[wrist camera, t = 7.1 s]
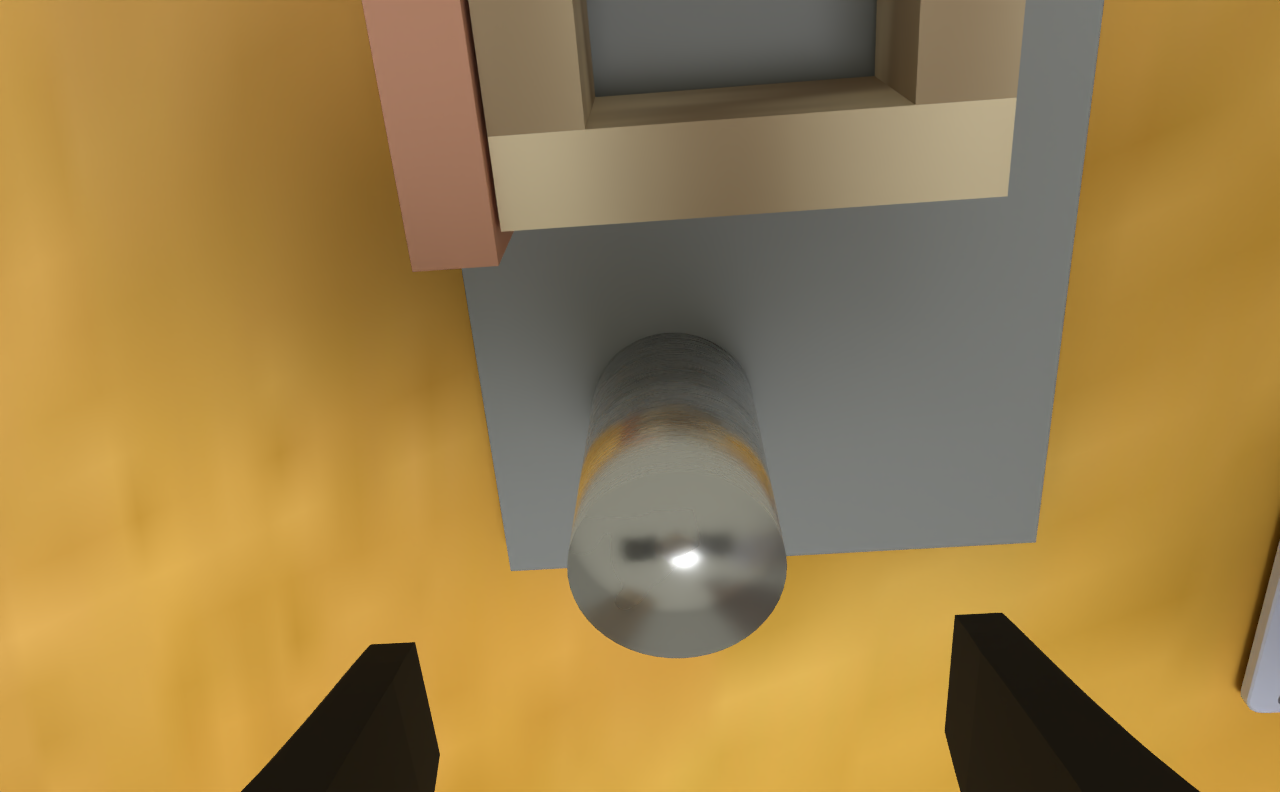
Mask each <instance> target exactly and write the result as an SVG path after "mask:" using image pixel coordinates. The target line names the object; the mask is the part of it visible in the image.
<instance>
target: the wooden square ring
mask: <svg viewBox="0 0 1280 792" xmlns="http://www.w3.org/2000/svg"><path fill="white" fill-rule="evenodd" d="M468 2H469V9H470V16H471V23H472V30H473V37H474V44H475V51H476V59H477V66H478V73H479V80H480V87H481V94H482V101H483V108H484V115H485V122H486V129H487V136H488V143H489V150H490V157H491V164H492V171H493V178H494V185H495V192H496V200H497V207H498V214H499V221H500V228H501V232H505V231H519V230H533V229H547V228H562V227H576V226H590V225H605V224H619V223H633V222H648V221H662V220H676V219H691V218H705V217H719V216H733V215H748V214H762V213H776V212H791V211H805V210H819V209H834V208H848V207H862V206H877V205H891V204H905V203H920V202H934V201H948V200H962V199H977V198H991V197H1005V196H1008V186H1009V175H1010V164H1011V154H1012V143H1013V132H1014V121H1015V111H1016V100H1017V89H1018V79H1019V68H1020V57H1021V46H1022V36H1023V25H1024V14H1025V3H1026V0H877V14H876V47H875V76H868V77H855V78H842V79H829V80H816V81H802V82H789V83H776V84H763V85H749V86H736V87H723V88H710V89H696V90H683V91H670V92H657V93H644V94H630V95H617V96H604V97H595V89H594V78H593V67H592V56H591V45H590V34H589V23H588V13H587V2H586V0H468Z"/></svg>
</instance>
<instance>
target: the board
mask: <svg viewBox="0 0 1280 792" xmlns="http://www.w3.org/2000/svg"><path fill="white" fill-rule="evenodd" d="M586 2H587V13H588V23H589V34H590V45H591V56H592V67H593V78H594V89H595V97H604V96H617V95H630V94H644V93H657V92H670V91H683V90H696V89H710V88H723V87H736V86H749V85H763V84H776V83H789V82H802V81H816V80H829V79H842V78H855V77H868V76H875V47H876V14H877V0H586ZM362 4H363V10H364V15H365V20H366V26H367V31H368V37H369V42H370V47H371V53H372V58H373V63H374V69H375V74H376V79H377V85H378V90H379V95H380V101H381V106H382V111H383V117H384V122H385V128H386V133H387V138H388V144H389V149H390V154H391V160H392V165H393V170H394V176H395V181H396V186H397V192H398V197H399V203H400V208H401V213H402V219H403V224H404V229H405V235H406V240H407V245H408V251H409V256H410V261H411V267H412V272H417V271H431V270H446V269H461V268H462V274H463V280H464V286H465V292H466V298H467V305H468V311H469V317H470V323H471V329H472V335H473V341H474V347H475V354H476V360H477V366H478V372H479V378H480V384H481V390H482V397H483V403H484V409H485V415H486V421H487V427H488V433H489V439H490V446H491V452H492V458H493V464H494V470H495V476H496V482H497V489H498V495H499V501H500V507H501V513H502V519H503V525H504V531H505V538H506V544H507V550H508V556H509V562H510V568H511V571H520V570H539V569H557V568H567V561H568V552H569V546H570V539H571V533H572V527H573V521H574V514H575V508H576V502H577V495H578V489H579V483H580V477H581V470H582V464H583V458H584V451H585V445H586V439H587V433H588V426H589V420H590V414H591V407H592V401H593V395H594V391H595V387H596V383H597V381H598V379H599V376H600V374H601V373H602V371H603V369H604V368H605V366H606V365H607V364H608V363H609V361H610V360H611V359H612V358H613V357H614V356H615V355H616V354H617V353H618V352H619V351H621V350H622V349H623V348H625V347H626V346H628V345H630V344H631V343H633V342H635V341H637V340H640V339H642V338H645V337H648V336H652V335H656V334H662V333H684V334H691V335H695V336H699V337H702V338H704V339H707V340H710V341H712V342H713V343H715V344H717V345H719V346H720V347H722V348H723V349H724V350H726V351H727V352H728V353H729V354H730V355H731V356H732V357H734V358H735V360H736V361H737V362H738V363H739V365H740V366H741V367H742V369H743V371H744V372H745V374H746V376H747V378H748V381H749V383H750V386H751V390H752V394H753V399H754V404H755V408H756V413H757V418H758V423H759V428H760V432H761V437H762V442H763V447H764V451H765V456H766V461H767V466H768V471H769V475H770V480H771V485H772V490H773V494H774V499H775V504H776V509H777V513H778V518H779V523H780V528H781V533H782V537H783V542H784V547H785V552H786V556H794V555H813V554H831V553H849V552H868V551H886V550H904V549H922V548H941V547H959V546H977V545H996V544H1014V543H1032V542H1036V536H1037V528H1038V521H1039V513H1040V505H1041V497H1042V489H1043V481H1044V473H1045V465H1046V457H1047V449H1048V441H1049V433H1050V426H1051V418H1052V410H1053V402H1054V394H1055V386H1056V378H1057V370H1058V362H1059V354H1060V346H1061V338H1062V331H1063V323H1064V315H1065V307H1066V299H1067V291H1068V283H1069V275H1070V267H1071V259H1072V251H1073V243H1074V236H1075V228H1076V220H1077V212H1078V204H1079V196H1080V188H1081V180H1082V172H1083V164H1084V156H1085V148H1086V141H1087V133H1088V125H1089V117H1090V109H1091V101H1092V93H1093V85H1094V77H1095V69H1096V61H1097V53H1098V46H1099V38H1100V30H1101V22H1102V14H1103V6H1104V0H1026V3H1025V14H1024V25H1023V36H1022V46H1021V57H1020V68H1019V79H1018V89H1017V100H1016V111H1015V121H1014V132H1013V143H1012V154H1011V164H1010V175H1009V186H1008V196H1005V197H991V198H977V199H962V200H948V201H934V202H920V203H905V204H891V205H877V206H862V207H848V208H834V209H819V210H805V211H791V212H776V213H762V214H748V215H733V216H719V217H705V218H691V219H676V220H662V221H648V222H633V223H619V224H605V225H590V226H576V227H562V228H547V229H533V230H519V231H505V232H501V228H500V221H499V214H498V207H497V200H496V192H495V185H494V178H493V171H492V164H491V157H490V150H489V143H488V136H487V129H486V122H485V115H484V108H483V101H482V94H481V87H480V80H479V73H478V66H477V59H476V51H475V44H474V37H473V30H472V23H471V16H470V9H469V2H468V0H362Z"/></svg>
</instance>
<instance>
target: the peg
mask: <svg viewBox="0 0 1280 792" xmlns="http://www.w3.org/2000/svg"><path fill="white" fill-rule="evenodd" d="M567 569H568V579H569V584H570V588H571V591H572V594H573V596H574V599H575V601H576V603H577V605H578V606H579V608H580V610H581V611H582V613H583V614H584V615H585V617H586V618H587V619H588V621H589V622H590V623H591V624H592V625H593V626H594V627H595V628H596V629H597V630H599V631H600V632H601V633H602V634H604V635H605V636H606V637H608V638H609V639H611V640H613V641H614V642H616V643H617V644H620V645H622V646H624V647H626V648H628V649H630V650H633V651H636V652H639V653H642V654H647V655H651V656H656V657H665V658H689V657H698V656H702V655H707V654H711V653H714V652H717V651H721V650H723V649H726V648H728V647H730V646H732V645H734V644H736V643H738V642H740V641H741V640H743V639H745V638H746V637H747V636H749V635H750V634H751V633H753V632H754V631H755V630H756V629H757V628H758V627H759V626H760V625H761V624H762V623H763V622H764V621H765V620H766V619H767V618H768V617H769V615H770V614H771V613H772V611H773V610H774V608H775V606H776V604H777V603H778V601H779V599H780V596H781V594H782V591H783V588H784V584H785V579H786V570H787V561H786V552H785V547H784V542H783V537H782V533H781V528H780V523H779V518H778V513H777V509H776V504H775V499H774V494H773V490H772V485H771V480H770V475H769V471H768V466H767V461H766V456H765V451H764V447H763V442H762V437H761V432H760V428H759V423H758V418H757V413H756V408H755V404H754V399H753V394H752V390H751V386H750V383H749V381H748V378H747V376H746V374H745V372H744V371H743V369H742V367H741V366H740V365H739V363H738V362H737V361H736V360H735V358H734V357H732V356H731V355H730V354H729V353H728V352H727V351H726V350H724V349H723V348H722V347H720V346H719V345H717V344H715V343H713V342H712V341H710V340H707V339H704V338H702V337H699V336H695V335H691V334H684V333H662V334H656V335H652V336H648V337H645V338H642V339H640V340H637V341H635V342H633V343H631V344H630V345H628V346H626V347H625V348H623V349H622V350H621V351H619V352H618V353H617V354H616V355H615V356H614V357H613V358H612V359H611V360H610V361H609V363H608V364H607V365H606V366H605V368H604V369H603V371H602V373H601V374H600V376H599V379H598V381H597V383H596V387H595V391H594V395H593V401H592V407H591V414H590V420H589V426H588V433H587V439H586V445H585V451H584V458H583V464H582V470H581V477H580V483H579V489H578V495H577V502H576V508H575V514H574V521H573V527H572V533H571V539H570V546H569V552H568V561H567Z"/></svg>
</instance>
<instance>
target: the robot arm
mask: <svg viewBox="0 0 1280 792" xmlns="http://www.w3.org/2000/svg"><path fill="white" fill-rule="evenodd" d="M1241 697H1242V699H1243V700H1244V702H1245V703H1246V704H1247V705H1248V707H1249V708H1250V709H1251V710H1253V711H1255V712H1260V713H1272V712H1280V541H1279V545H1278V549H1277V553H1276V557H1275V561H1274V564H1273V568H1272V572H1271V576H1270V580H1269V584H1268V588H1267V591H1266V595H1265V599H1264V603H1263V607H1262V611H1261V614H1260V618H1259V622H1258V626H1257V630H1256V634H1255V638H1254V641H1253V645H1252V649H1251V653H1250V657H1249V661H1248V665H1247V668H1246V672H1245V676H1244V680H1243V684H1242V688H1241ZM945 734H946V738H947V742H948V746H949V750H950V754H951V758H952V762H953V765H954V769H955V773H956V777H957V780H958V784H959V788H960V791H961V792H1200V791H1198V790H1197V789H1196V788H1195V787H1193V786H1192V785H1191V784H1189V783H1188V782H1187V781H1186V780H1184V779H1183V778H1182V777H1181V776H1180V775H1178V774H1177V773H1176V772H1175V771H1173V770H1172V769H1171V768H1170V767H1169V766H1167V765H1166V764H1165V763H1164V762H1162V761H1161V760H1160V759H1159V758H1158V757H1156V756H1155V755H1154V754H1153V753H1151V752H1150V751H1149V750H1148V749H1147V748H1146V747H1144V746H1143V745H1142V744H1141V743H1140V742H1139V741H1138V740H1136V739H1135V738H1134V737H1133V736H1132V735H1131V734H1129V733H1128V732H1127V731H1126V730H1125V729H1124V728H1123V727H1122V726H1121V725H1120V724H1118V723H1117V722H1116V721H1115V720H1114V719H1113V718H1112V717H1111V716H1110V715H1108V714H1107V713H1106V712H1105V711H1104V710H1103V709H1102V708H1101V707H1100V706H1099V705H1097V704H1096V703H1095V702H1094V701H1093V700H1092V699H1091V698H1090V697H1089V696H1088V695H1087V694H1086V693H1084V692H1083V691H1082V690H1081V689H1080V688H1079V687H1078V686H1077V685H1076V684H1075V683H1074V682H1073V681H1072V680H1071V679H1070V678H1069V677H1068V676H1067V675H1066V674H1065V673H1064V672H1063V671H1061V670H1060V669H1059V668H1058V667H1057V666H1056V665H1055V664H1054V663H1053V662H1052V661H1051V660H1050V659H1049V658H1048V657H1047V656H1046V655H1045V654H1044V653H1043V652H1042V651H1041V650H1040V649H1039V648H1038V647H1037V646H1036V645H1035V644H1034V643H1033V642H1032V641H1031V640H1030V639H1029V638H1028V637H1027V636H1026V635H1025V634H1024V633H1023V632H1022V631H1021V630H1020V629H1019V628H1018V627H1017V626H1016V625H1015V624H1013V623H1012V622H1011V621H1010V620H1009V619H1008V618H1007V617H1006V616H1005V615H1004V614H1003V613H987V614H967V615H955V621H954V632H953V643H952V655H951V666H950V677H949V689H948V700H947V711H946V722H945ZM439 757H440V753H439V748H438V744H437V739H436V735H435V730H434V726H433V721H432V717H431V712H430V708H429V703H428V699H427V694H426V690H425V685H424V681H423V676H422V672H421V667H420V663H419V658H418V654H417V649H416V645H415V642H412V643H392V644H372V645H370V646H369V647H368V648H367V649H366V650H365V651H364V652H363V653H362V655H361V656H360V657H359V658H358V659H357V660H356V662H355V663H354V664H353V665H352V666H351V667H350V669H349V670H348V671H347V672H346V673H345V675H344V676H343V677H342V678H341V679H340V681H339V682H338V683H337V684H336V685H335V687H334V688H333V689H332V690H331V691H330V692H329V694H328V695H327V696H326V697H325V698H324V700H323V701H322V702H321V703H320V704H319V705H318V707H317V708H316V709H315V710H314V711H313V713H312V714H311V715H310V716H309V717H308V718H307V720H306V721H305V722H304V723H303V724H302V725H301V726H300V728H299V729H298V730H297V731H296V732H295V733H294V734H293V736H292V737H291V738H290V739H289V740H288V741H287V742H286V743H285V745H284V746H283V747H282V748H281V749H280V750H279V751H278V752H277V754H276V755H275V756H274V757H273V758H272V759H271V760H270V762H269V763H268V764H267V765H266V766H265V767H264V768H263V769H262V770H261V771H260V772H259V773H258V775H257V776H256V777H255V778H254V779H253V780H252V781H251V782H250V783H249V784H248V785H247V786H246V787H245V788H244V789H243V790H242V791H241V792H434V791H435V784H436V777H437V770H438V763H439Z"/></svg>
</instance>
